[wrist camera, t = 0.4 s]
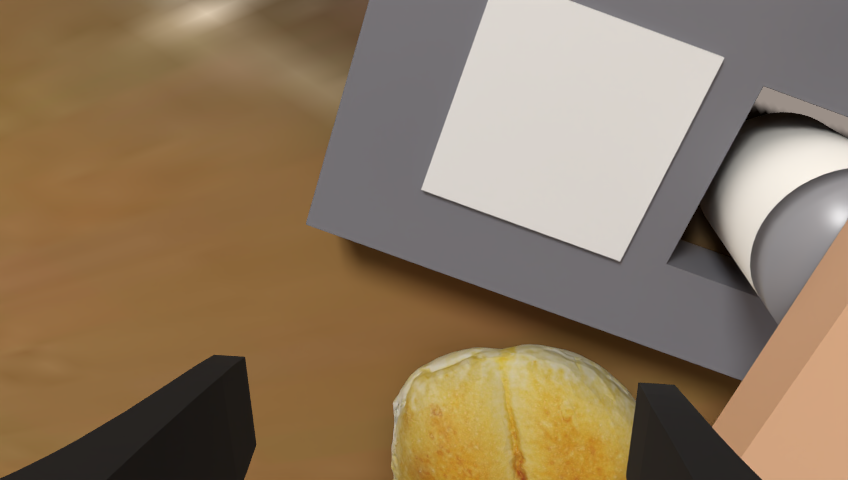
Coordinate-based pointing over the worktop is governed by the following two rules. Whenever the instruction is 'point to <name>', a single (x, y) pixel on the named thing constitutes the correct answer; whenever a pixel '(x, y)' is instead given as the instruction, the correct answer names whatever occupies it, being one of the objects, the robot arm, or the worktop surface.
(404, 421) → the bread roll
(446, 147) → the socket panel
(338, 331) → the worktop surface
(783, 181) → the plug
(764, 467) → the tan long bar
